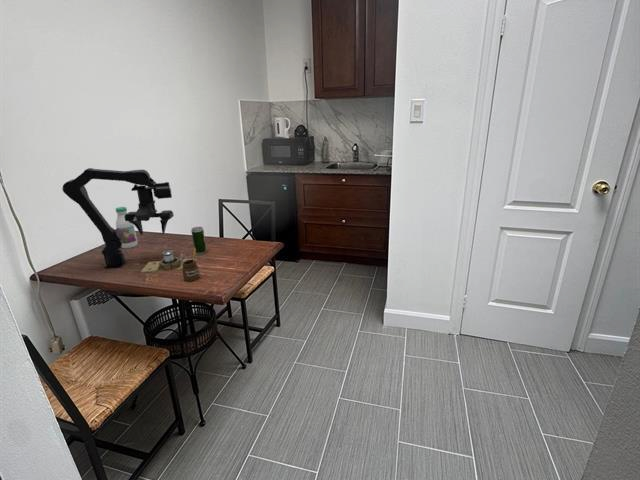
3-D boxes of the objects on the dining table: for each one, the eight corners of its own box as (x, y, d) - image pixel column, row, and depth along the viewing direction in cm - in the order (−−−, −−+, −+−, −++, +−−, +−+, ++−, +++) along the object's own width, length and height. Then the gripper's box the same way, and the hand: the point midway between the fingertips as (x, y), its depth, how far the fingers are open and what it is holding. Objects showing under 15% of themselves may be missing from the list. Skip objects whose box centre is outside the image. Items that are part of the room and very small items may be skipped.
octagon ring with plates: (141, 272, 142) (139, 267, 141) (149, 263, 152) (148, 258, 151) (193, 268, 145) (192, 263, 144) (198, 259, 154) (197, 254, 153)
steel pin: (163, 268, 146) (160, 254, 143) (166, 264, 150) (163, 250, 148) (174, 267, 146) (171, 253, 144) (177, 263, 150) (174, 249, 148)
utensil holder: (181, 278, 136) (176, 250, 132) (196, 273, 140) (191, 246, 136) (187, 283, 132) (182, 254, 128) (203, 277, 136) (198, 249, 132)
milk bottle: (122, 244, 175) (113, 206, 169) (139, 242, 178) (131, 205, 171) (119, 249, 168) (109, 210, 162) (136, 247, 171) (127, 208, 164)
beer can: (196, 255, 159) (192, 230, 155) (193, 251, 163) (189, 228, 159) (208, 252, 162) (204, 228, 157) (204, 249, 166) (201, 225, 162)
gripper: (114, 205, 139) (122, 241, 144) (162, 203, 140) (168, 239, 146) (126, 199, 149) (133, 233, 154) (171, 197, 151) (176, 231, 156)
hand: (152, 234), depth 152 cm, fingers open, 9 cm apart
